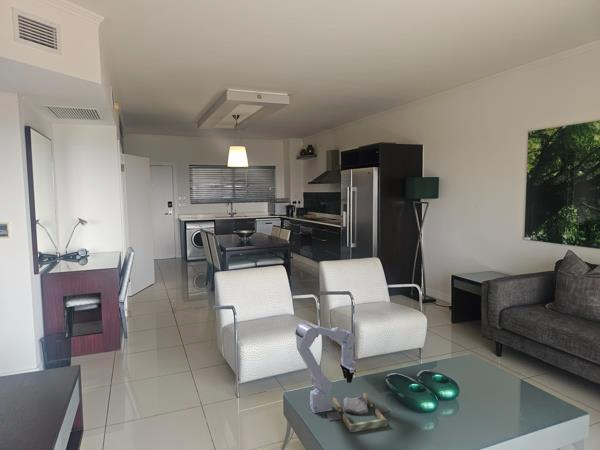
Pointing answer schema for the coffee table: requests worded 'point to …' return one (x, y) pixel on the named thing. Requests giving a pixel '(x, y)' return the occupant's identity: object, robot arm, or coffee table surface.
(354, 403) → the stone block
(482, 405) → the coffee table surface
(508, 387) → the coffee table surface
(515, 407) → the coffee table surface
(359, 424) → the tan u-shaped piece
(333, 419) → the trap pits
